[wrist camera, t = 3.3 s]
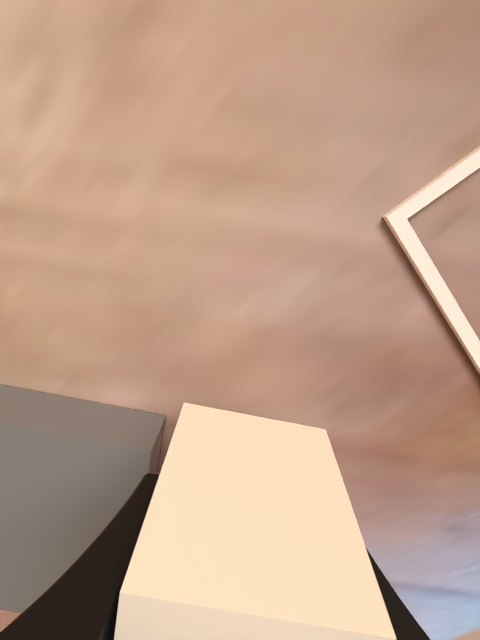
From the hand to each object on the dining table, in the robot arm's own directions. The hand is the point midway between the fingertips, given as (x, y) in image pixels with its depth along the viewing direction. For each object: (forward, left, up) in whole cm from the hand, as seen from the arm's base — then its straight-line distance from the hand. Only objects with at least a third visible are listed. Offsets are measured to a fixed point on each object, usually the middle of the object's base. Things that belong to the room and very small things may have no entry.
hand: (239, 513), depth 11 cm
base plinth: (-10, +11, -8) cm, 17 cm away
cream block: (0, 0, -2) cm, 2 cm away
